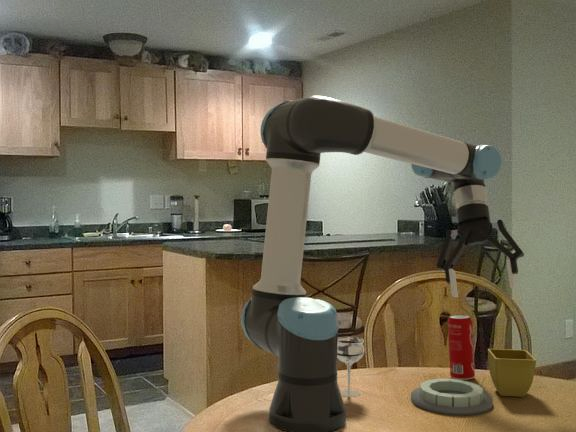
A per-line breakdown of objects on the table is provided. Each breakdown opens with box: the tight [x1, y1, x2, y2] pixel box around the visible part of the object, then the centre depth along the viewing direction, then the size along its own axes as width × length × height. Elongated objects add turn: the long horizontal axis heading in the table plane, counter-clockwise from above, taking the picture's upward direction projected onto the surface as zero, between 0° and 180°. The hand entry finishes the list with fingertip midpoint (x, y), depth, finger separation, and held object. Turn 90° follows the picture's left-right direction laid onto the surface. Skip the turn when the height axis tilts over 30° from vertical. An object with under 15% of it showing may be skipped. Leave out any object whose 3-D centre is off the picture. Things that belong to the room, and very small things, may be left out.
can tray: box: [410, 378, 493, 416], centre depth 143 cm, size 17×17×3 cm
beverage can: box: [447, 314, 476, 381], centre depth 161 cm, size 6×6×15 cm
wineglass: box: [337, 336, 365, 398], centre depth 148 cm, size 7×7×12 cm
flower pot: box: [487, 348, 537, 398], centre depth 149 cm, size 9×9×9 cm
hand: (483, 292), depth 156 cm, fingers open, 13 cm apart
